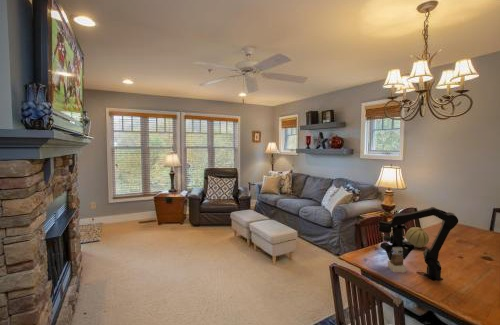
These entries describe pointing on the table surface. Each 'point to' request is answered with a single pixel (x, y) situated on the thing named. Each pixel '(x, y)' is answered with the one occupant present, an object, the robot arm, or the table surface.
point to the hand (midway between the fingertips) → (396, 259)
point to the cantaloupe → (417, 237)
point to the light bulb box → (399, 249)
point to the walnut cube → (396, 259)
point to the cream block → (396, 267)
